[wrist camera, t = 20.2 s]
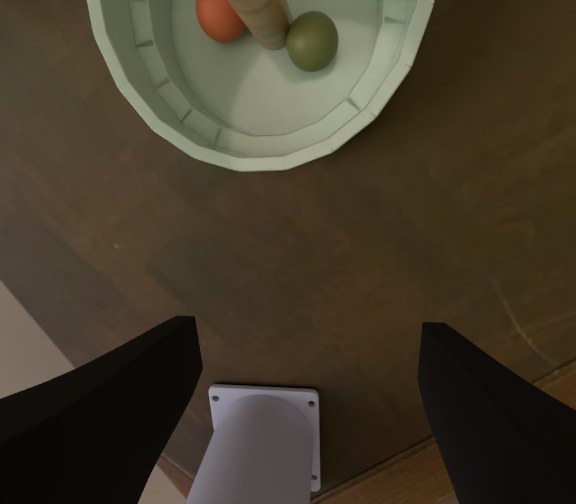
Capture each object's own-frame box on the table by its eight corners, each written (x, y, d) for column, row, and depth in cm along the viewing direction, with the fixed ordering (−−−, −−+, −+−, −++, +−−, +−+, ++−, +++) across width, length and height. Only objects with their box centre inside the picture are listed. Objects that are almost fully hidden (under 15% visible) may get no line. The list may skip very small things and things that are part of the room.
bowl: (398, 158, 18) (422, 165, 13) (170, 167, 20) (120, 176, 15) (417, -165, 14) (460, -319, 9) (127, -119, 16) (41, -228, 11)
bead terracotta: (243, 55, 17) (202, 33, 17) (262, 4, 16) (219, -20, 16) (225, 46, 15) (178, 20, 15) (246, -15, 14) (196, -42, 14)
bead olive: (297, 88, 16) (332, 51, 14) (267, 43, 15) (298, -2, 14) (322, 77, 17) (357, 42, 15) (295, 35, 17) (327, -6, 15)
